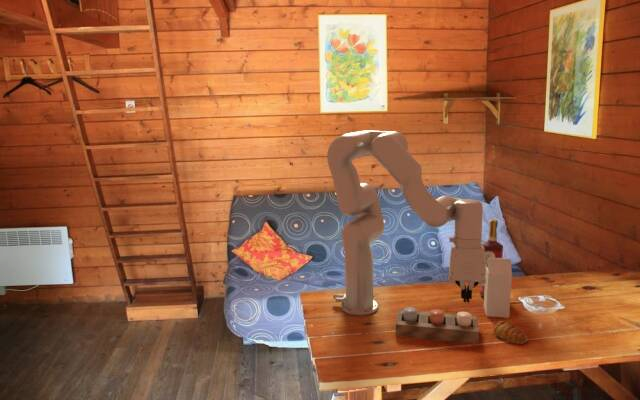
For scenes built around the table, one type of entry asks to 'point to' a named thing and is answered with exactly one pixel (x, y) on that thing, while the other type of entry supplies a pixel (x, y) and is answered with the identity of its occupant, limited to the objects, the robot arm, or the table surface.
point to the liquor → (492, 246)
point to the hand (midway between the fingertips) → (466, 300)
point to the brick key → (436, 317)
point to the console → (437, 328)
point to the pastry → (510, 332)
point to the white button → (464, 319)
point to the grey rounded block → (410, 314)
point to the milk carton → (497, 287)
